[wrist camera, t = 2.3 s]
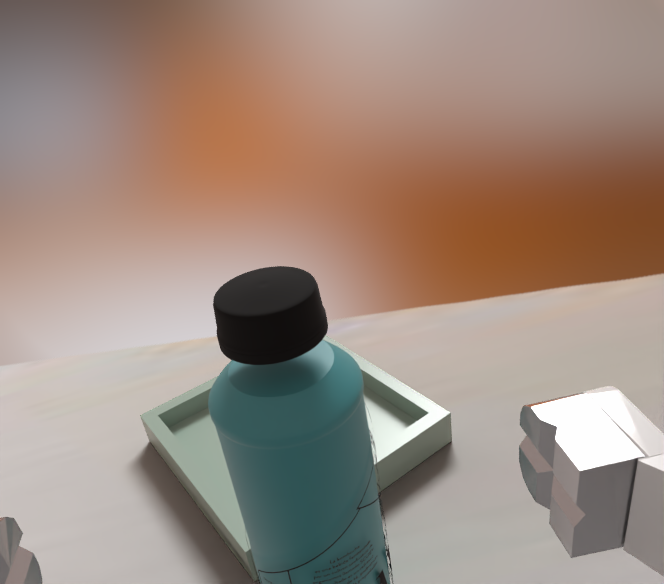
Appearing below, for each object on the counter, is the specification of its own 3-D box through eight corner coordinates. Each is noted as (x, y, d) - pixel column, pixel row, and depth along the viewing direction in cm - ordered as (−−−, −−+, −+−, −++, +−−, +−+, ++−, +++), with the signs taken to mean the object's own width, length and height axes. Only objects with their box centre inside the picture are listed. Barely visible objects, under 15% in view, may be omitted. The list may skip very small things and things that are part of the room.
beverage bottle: (326, 723, 27) (234, 360, 17) (249, 620, 32) (143, 292, 22) (426, 626, 30) (394, 276, 21) (342, 546, 35) (285, 233, 26)
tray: (318, 351, 53) (314, 327, 52) (451, 440, 41) (450, 412, 40) (149, 440, 46) (140, 415, 44) (254, 581, 34) (245, 552, 33)
